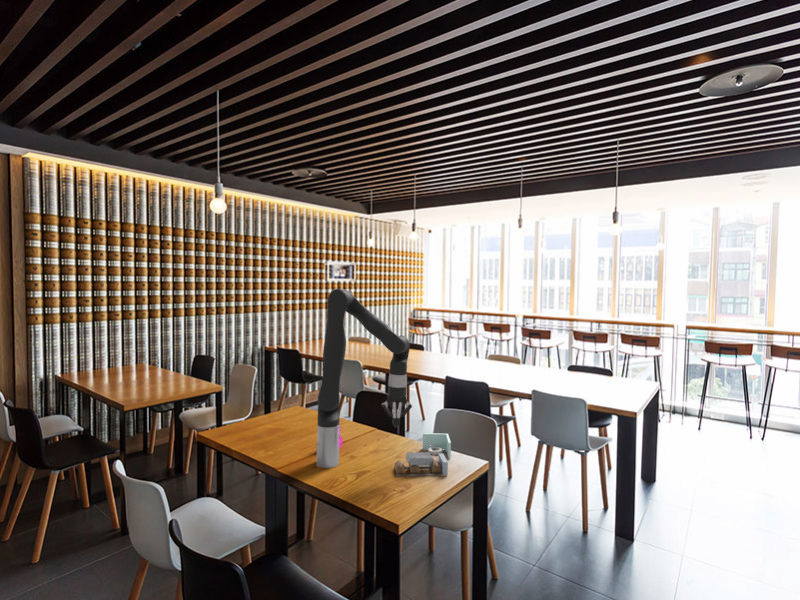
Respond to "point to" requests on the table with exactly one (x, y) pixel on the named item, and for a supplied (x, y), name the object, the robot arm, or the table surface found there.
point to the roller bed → (417, 469)
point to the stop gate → (443, 464)
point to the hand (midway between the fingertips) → (395, 426)
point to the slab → (419, 459)
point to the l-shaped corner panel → (437, 443)
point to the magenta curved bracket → (340, 438)
